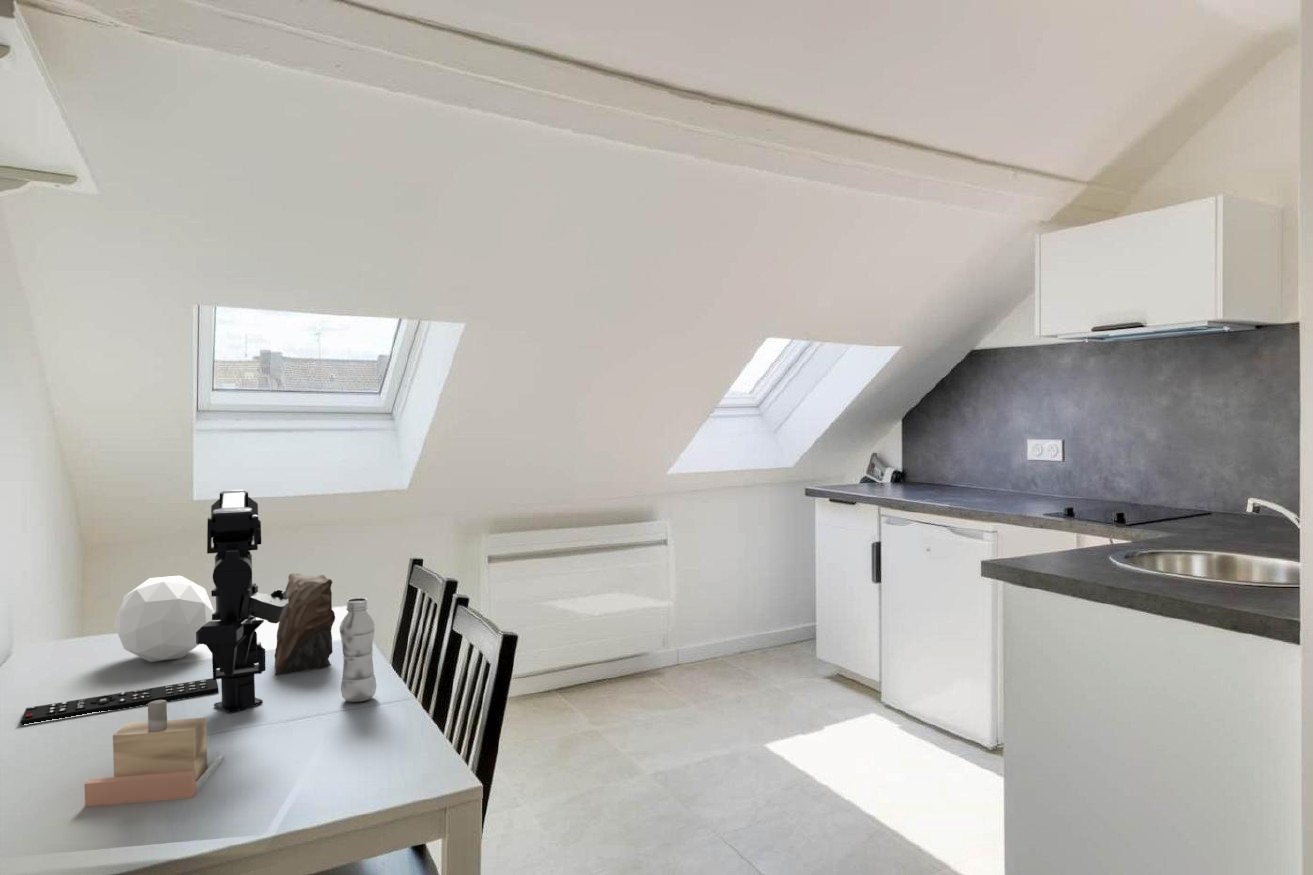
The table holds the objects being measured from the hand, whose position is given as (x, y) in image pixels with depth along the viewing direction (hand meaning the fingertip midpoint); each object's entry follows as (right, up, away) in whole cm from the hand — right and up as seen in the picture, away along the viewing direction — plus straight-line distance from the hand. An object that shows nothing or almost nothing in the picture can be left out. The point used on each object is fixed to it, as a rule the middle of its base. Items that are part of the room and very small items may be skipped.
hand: (235, 669), depth 139 cm
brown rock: (-7, -11, +39) cm, 41 cm away
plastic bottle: (+15, -12, +18) cm, 26 cm away
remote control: (-31, -12, +17) cm, 38 cm away
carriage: (-2, -11, -18) cm, 21 cm away
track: (-2, -13, -19) cm, 23 cm away
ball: (-40, -11, +46) cm, 62 cm away
